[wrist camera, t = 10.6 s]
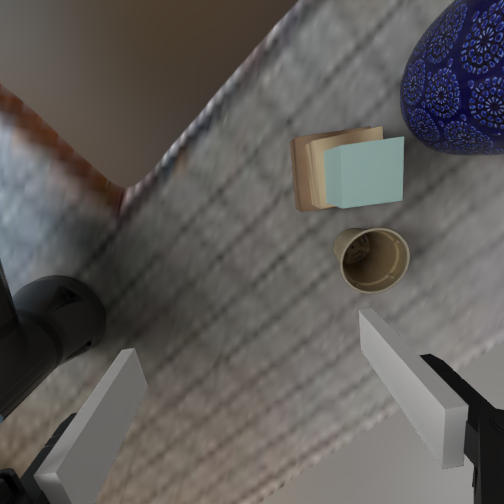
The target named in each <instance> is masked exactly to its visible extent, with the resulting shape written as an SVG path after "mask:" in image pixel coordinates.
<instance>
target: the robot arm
mask: <svg viewBox="0 0 504 504" xmlns="http://www.w3.org/2000/svg"><path fill="white" fill-rule="evenodd" d="M359 323H360V339H361V351H362V353H363V354H364V356H365V357H366V358H367V360H368V361H369V363H370V364H371V366H372V367H373V369H374V370H375V372H376V373H377V375H378V376H379V377H380V379H381V380H382V382H383V383H384V385H385V386H386V388H387V389H388V391H389V392H390V394H391V395H392V396H393V398H394V399H395V401H396V402H397V404H398V405H399V407H400V408H401V410H402V411H403V412H404V414H405V415H406V417H407V418H408V420H409V421H410V423H411V424H412V426H413V427H414V429H415V430H416V432H417V433H418V435H419V436H420V437H421V439H422V440H423V442H424V443H425V445H426V446H427V448H428V449H429V451H430V452H431V453H432V455H433V456H434V458H435V459H436V461H437V462H438V464H439V465H440V467H441V468H442V469H446V468H453V467H459V466H464V454H465V455H466V456H467V457H468V458H469V459H470V461H471V462H472V463H473V464H474V473H473V483H472V487H474V504H504V410H501V409H496V408H494V407H493V406H492V405H491V404H490V403H489V402H488V401H487V400H486V399H484V398H483V397H482V396H481V395H480V394H479V393H478V392H477V391H476V390H475V389H474V388H472V387H471V386H470V385H469V384H468V383H467V382H466V381H465V380H464V379H462V378H461V377H460V376H459V375H458V374H457V373H456V372H455V371H453V369H452V368H451V367H450V366H449V365H447V364H446V363H445V362H444V361H443V360H441V359H439V358H437V357H435V356H434V355H432V354H426V355H420V356H419V355H418V354H417V353H416V352H415V351H414V350H413V349H412V348H411V347H410V346H409V345H408V344H407V343H406V342H405V341H404V340H403V339H402V338H401V337H400V336H399V335H398V334H397V333H396V332H395V331H394V330H393V329H392V328H391V327H390V326H389V325H388V324H387V323H386V322H385V321H384V320H383V319H382V318H381V317H380V316H379V315H378V314H377V313H376V311H375V310H374V309H373V308H369V309H363V310H359ZM105 324H106V318H105V312H104V309H103V306H102V304H101V302H100V301H99V299H98V298H97V296H96V295H95V294H94V293H93V292H92V291H91V290H90V289H89V288H87V287H86V286H85V285H83V284H82V283H80V282H78V281H76V280H73V279H70V278H67V277H62V276H47V277H43V278H40V279H37V280H35V281H33V282H31V283H29V284H27V285H25V286H24V287H22V288H21V289H20V290H19V291H18V292H17V293H16V294H15V295H14V296H13V297H12V296H11V293H10V289H9V286H8V283H7V279H6V276H5V273H4V270H3V266H2V263H1V260H0V424H1V423H2V422H3V421H4V420H5V419H6V418H7V417H8V416H9V415H10V414H11V413H12V412H13V411H14V409H15V408H16V407H17V406H18V405H19V404H20V403H21V402H22V401H23V400H24V399H25V398H26V397H27V396H28V395H29V394H30V393H31V392H32V391H33V390H34V389H35V388H36V387H37V386H38V385H39V384H40V383H41V382H42V381H43V380H44V379H45V378H46V377H47V376H48V375H49V374H50V373H51V372H52V371H53V370H54V369H55V368H56V367H58V366H59V365H61V364H63V363H65V362H67V361H69V360H71V359H73V358H75V357H77V356H79V355H81V354H83V353H85V352H86V351H88V350H89V349H90V348H91V347H92V346H93V345H94V344H95V343H96V342H97V341H98V340H99V339H100V337H101V336H102V334H103V332H104V329H105ZM147 387H148V385H147V382H146V380H145V377H144V374H143V371H142V368H141V365H140V362H139V359H138V356H137V353H136V351H135V348H131V349H125V350H121V352H120V353H119V354H118V356H117V357H116V359H115V360H114V362H113V363H112V364H111V366H110V367H109V369H108V370H107V372H106V373H105V374H104V376H103V377H102V379H101V380H100V382H99V383H98V384H97V386H96V387H95V389H94V390H93V392H92V393H91V394H90V396H89V397H88V399H87V400H86V402H85V403H84V404H83V406H82V407H81V409H80V410H79V412H78V413H73V414H71V415H70V416H69V417H68V418H67V419H66V420H65V421H63V422H62V423H61V424H60V425H59V427H58V428H57V430H56V431H55V432H54V434H53V435H52V438H50V439H49V440H48V442H47V443H46V444H45V447H44V448H43V449H42V450H41V451H40V453H39V454H38V455H37V457H36V458H35V459H34V461H33V462H32V463H31V465H30V466H29V468H28V469H27V470H26V472H25V473H24V474H23V476H22V477H21V478H20V479H19V477H18V475H17V474H16V472H15V470H14V469H11V468H7V469H3V470H0V504H94V503H95V501H96V499H97V497H98V494H99V492H100V490H101V488H102V486H103V483H104V481H105V479H106V477H107V475H108V472H109V470H110V468H111V466H112V464H113V461H114V459H115V457H116V455H117V453H118V450H119V448H120V446H121V444H122V442H123V439H124V437H125V435H126V433H127V431H128V428H129V426H130V424H131V422H132V420H133V417H134V415H135V413H136V411H137V409H138V406H139V404H140V402H141V400H142V398H143V395H144V393H145V391H146V389H147Z"/></svg>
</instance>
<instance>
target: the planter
mask: <svg viewBox="0 0 504 504" xmlns="http://www.w3.org/2000/svg"><path fill="white" fill-rule="evenodd" d="M400 106H401V112H402V116H403V119H404V121H405V123H406V125H407V127H408V129H409V130H410V132H411V133H412V134H413V135H414V137H415V138H416V139H418V140H419V141H420V142H421V143H423V144H424V145H426V146H427V147H429V148H431V149H433V150H435V151H438V152H442V153H447V154H453V155H500V154H504V0H454V1H453V2H452V3H451V4H450V5H449V6H448V7H447V8H446V9H445V10H444V11H443V12H442V13H441V14H440V15H439V16H438V17H437V19H436V20H435V21H434V22H433V23H432V24H431V25H430V26H429V28H428V29H427V30H426V32H425V33H424V34H423V36H422V37H421V38H420V40H419V41H418V43H417V44H416V46H415V48H414V49H413V51H412V53H411V55H410V57H409V60H408V62H407V65H406V68H405V70H404V74H403V77H402V82H401V88H400Z"/></svg>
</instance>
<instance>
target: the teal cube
mask: <svg viewBox="0 0 504 504" xmlns="http://www.w3.org/2000/svg"><path fill="white" fill-rule="evenodd" d="M323 153H324V171H325V189H326V203H328V204H331V205H334V206H337V207H339V208H342V209H343V208H350V207H358V206H365V205H373V204H380V203H388V202H395V201H403V161H404V136H403V137H396V138H389V139H382V140H375V141H368V142H361V143H354V144H347V145H340V146H337V147H334V148H332V149H329V150H326V151H323Z"/></svg>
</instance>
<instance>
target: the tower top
mask: <svg viewBox="0 0 504 504" xmlns="http://www.w3.org/2000/svg"><path fill="white" fill-rule="evenodd" d="M382 139H383V129H382V126H380V127H375V128H371V129H366V130H361V131H356V132H352V133H347V134H342V135H338V136H333V137H328V138H324V139H319V140H314V141H312V142H310V143H308V144H306V145H305V146H304V147H305V154H306V162H307V169H308V177H309V184H310V192H311V199H312V205H314V206H316V207H318V208H320V209H324V208H329V207H334V205H331V204H328V203H326V189H325V171H324V153H323V151H326V150H329V149H332V148H334V147H337V146H340V145H347V144H354V143H361V142H368V141H375V140H382Z"/></svg>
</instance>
